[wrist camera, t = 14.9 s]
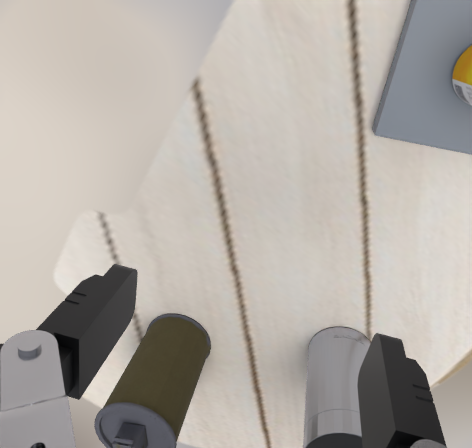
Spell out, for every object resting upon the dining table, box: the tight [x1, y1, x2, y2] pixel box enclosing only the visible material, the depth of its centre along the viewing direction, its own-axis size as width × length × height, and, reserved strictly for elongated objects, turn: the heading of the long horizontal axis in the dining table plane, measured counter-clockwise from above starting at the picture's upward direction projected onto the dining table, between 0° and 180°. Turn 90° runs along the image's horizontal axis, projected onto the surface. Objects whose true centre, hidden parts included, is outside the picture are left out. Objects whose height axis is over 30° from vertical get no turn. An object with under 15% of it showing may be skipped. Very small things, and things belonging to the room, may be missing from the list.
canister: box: [95, 314, 211, 448], centre depth 57 cm, size 11×10×20 cm
